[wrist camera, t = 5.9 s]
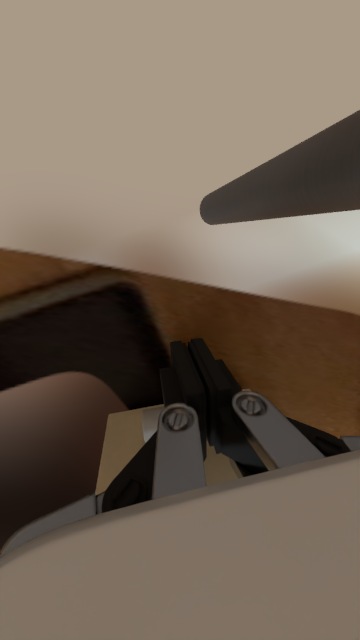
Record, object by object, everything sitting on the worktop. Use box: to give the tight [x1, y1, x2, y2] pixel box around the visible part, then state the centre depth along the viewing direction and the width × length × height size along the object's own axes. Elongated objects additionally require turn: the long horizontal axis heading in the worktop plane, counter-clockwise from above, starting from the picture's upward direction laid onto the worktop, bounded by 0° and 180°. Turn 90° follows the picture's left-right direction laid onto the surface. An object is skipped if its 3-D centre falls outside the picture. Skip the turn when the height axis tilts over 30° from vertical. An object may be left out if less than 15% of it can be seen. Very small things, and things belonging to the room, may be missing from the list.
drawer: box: [95, 389, 251, 495], centre depth 15 cm, size 18×11×8 cm, turn 4°
